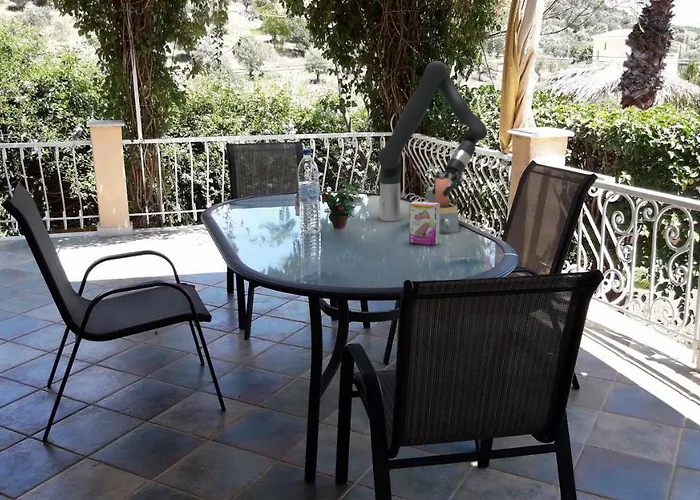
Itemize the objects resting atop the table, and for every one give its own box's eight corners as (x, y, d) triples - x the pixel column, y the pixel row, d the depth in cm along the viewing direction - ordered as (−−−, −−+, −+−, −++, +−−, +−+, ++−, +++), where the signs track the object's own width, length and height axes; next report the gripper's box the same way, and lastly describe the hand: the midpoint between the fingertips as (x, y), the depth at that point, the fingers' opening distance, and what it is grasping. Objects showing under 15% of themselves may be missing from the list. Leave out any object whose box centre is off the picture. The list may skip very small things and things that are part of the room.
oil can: (437, 208, 274) (437, 175, 270) (433, 206, 280) (433, 173, 276) (450, 207, 275) (450, 175, 271) (446, 205, 280) (446, 173, 277)
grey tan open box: (434, 235, 271) (435, 210, 268) (423, 226, 287) (423, 202, 284) (460, 233, 273) (460, 208, 270) (447, 224, 288) (448, 201, 286)
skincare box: (446, 220, 297) (446, 185, 292) (446, 223, 290) (447, 188, 285) (427, 220, 297) (427, 186, 293) (427, 223, 291) (428, 188, 286)
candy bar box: (408, 243, 259) (408, 203, 254) (413, 240, 263) (413, 200, 259) (435, 246, 254) (436, 205, 250) (439, 243, 259) (440, 202, 254)
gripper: (441, 156, 282) (422, 187, 278) (467, 158, 271) (447, 191, 267) (449, 166, 286) (430, 197, 282) (475, 170, 276) (456, 202, 272)
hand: (439, 194), depth 275 cm, fingers closed on oil can, 5 cm apart
